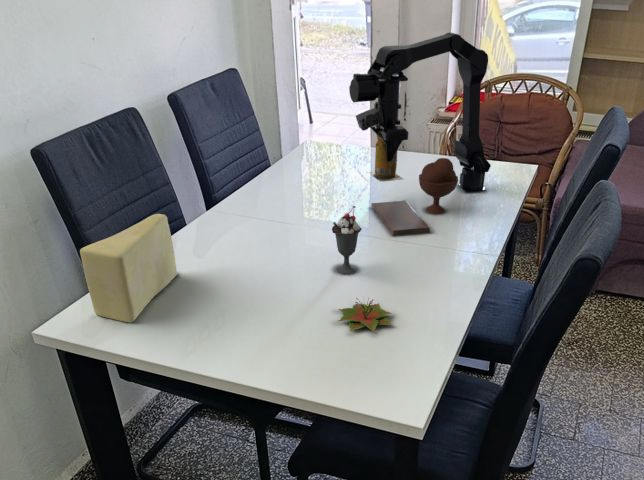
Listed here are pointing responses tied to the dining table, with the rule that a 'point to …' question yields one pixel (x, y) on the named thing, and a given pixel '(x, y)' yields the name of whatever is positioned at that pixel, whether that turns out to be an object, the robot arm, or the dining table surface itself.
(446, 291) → the dining table surface
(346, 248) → the sundae
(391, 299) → the dining table surface
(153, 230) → the cheese
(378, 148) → the condiment
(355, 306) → the lily flower
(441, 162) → the ice cream bowl
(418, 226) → the walnut board
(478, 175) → the robot arm
